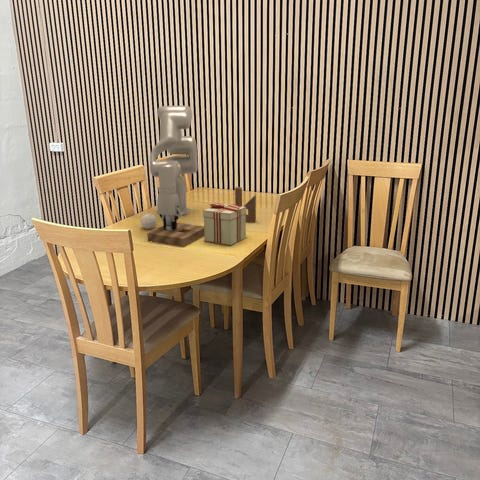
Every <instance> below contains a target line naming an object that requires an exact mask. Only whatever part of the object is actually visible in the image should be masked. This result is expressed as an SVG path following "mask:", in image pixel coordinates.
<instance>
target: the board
mask: <svg viewBox="0 0 480 480" xmlns="http://www.w3.org/2000/svg"><path fill="white" fill-rule="evenodd" d="M146 236H147V242H150V241H152V242H151V243H156V242H157V244H163V245H167V246H175V247H179V248H180V247H181V248H185V247H187V246H188V245H190V244H192V243H194V242H196V241H197V240H199V239H201V238H203V237H205V235H204V225H196V224H190V223H182V222H177V228H176V229H174V230H172V231H169V230H166V228H164V226H163V225H162V226H159V227H157V228H156V229H153V230H151V231H148V232H147V233H146Z"/></svg>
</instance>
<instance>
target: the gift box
mask: <svg viewBox="0 0 480 480" xmlns="http://www.w3.org/2000/svg"><path fill="white" fill-rule="evenodd" d="M243 206H244V205H242V206H238V205H235V203H234V204H233V203H232V204H225V203H224V204H223V203H222V202H217V201H215V202H214V201H213V202H212V203H210V204H209V208H206V209H203V210H202V217H203V226H204V235H205V236H204V242H209V243H215V244H220V245H227V246H233V245H234V244H236V243H238V242H239V241H241V240H244V238H246V237H247V235H246V234H247V227H246V226H247V225H246V224H247V222H246V214H247V209H246V207H243Z"/></svg>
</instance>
